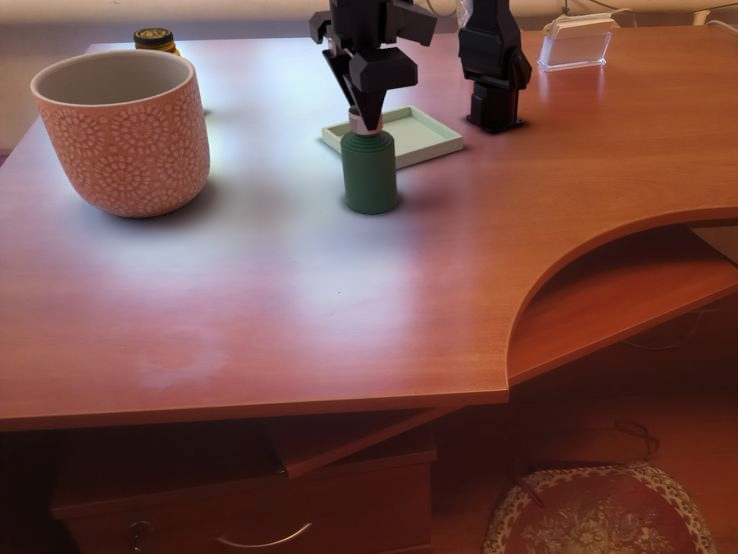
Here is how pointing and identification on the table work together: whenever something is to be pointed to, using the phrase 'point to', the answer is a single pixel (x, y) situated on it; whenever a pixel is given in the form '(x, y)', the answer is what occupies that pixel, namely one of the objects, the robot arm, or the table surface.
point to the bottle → (369, 171)
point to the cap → (361, 122)
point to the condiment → (155, 40)
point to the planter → (127, 129)
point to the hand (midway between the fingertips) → (365, 123)
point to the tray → (406, 135)
